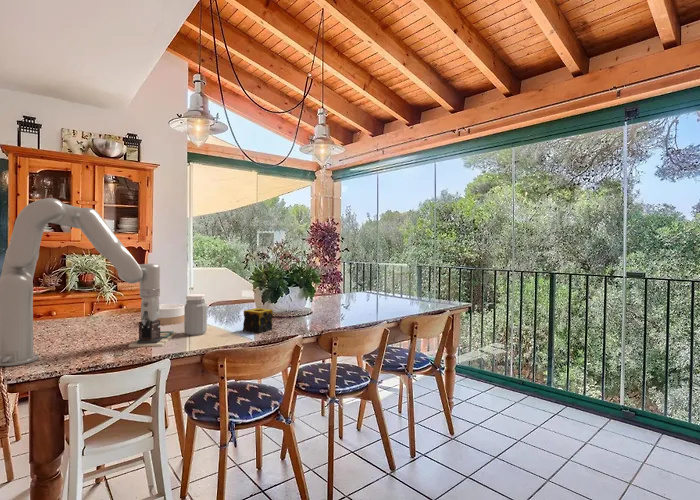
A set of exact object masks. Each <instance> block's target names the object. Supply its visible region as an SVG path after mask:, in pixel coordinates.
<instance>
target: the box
mask: <svg viewBox="0 0 700 500" xmlns="http://www.w3.org/2000/svg"><path fill="white" fill-rule="evenodd" d="M147 323H148V322H147ZM150 328H151V337H150V338H142V321H141V320H140V321H139V322H138V338H139V339H140V340H154V339H157V338H159V337H160V332H161V325H160V320H155V321H152V320H151V323H150Z"/></svg>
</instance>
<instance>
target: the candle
mask: <svg viewBox="0 0 700 500" xmlns="http://www.w3.org/2000/svg"><path fill="white" fill-rule="evenodd" d="M243 319H244V320H243V323H242V325H243V326H242V329H243V330H242V331H243V332H248V333H255V334H262V333H265V332H269V331H271V330H273V309H268V308H263V307H262V308H259V307H255V308H250V309H245V310H243Z"/></svg>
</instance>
